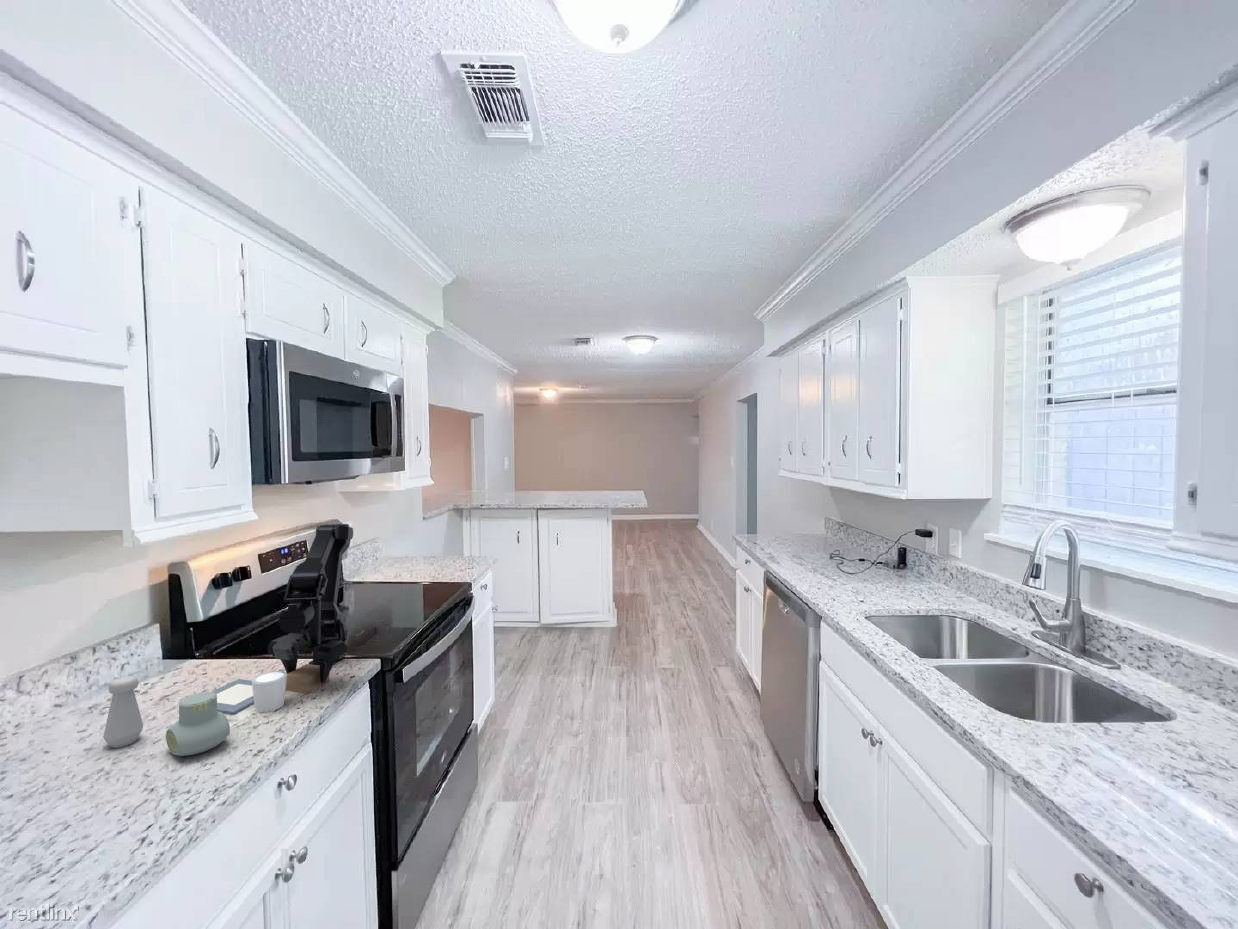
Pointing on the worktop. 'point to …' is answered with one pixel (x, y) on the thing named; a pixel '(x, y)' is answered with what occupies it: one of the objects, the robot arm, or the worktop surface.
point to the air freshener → (197, 725)
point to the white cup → (269, 690)
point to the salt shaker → (123, 713)
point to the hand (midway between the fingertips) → (307, 680)
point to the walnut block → (305, 679)
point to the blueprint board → (234, 696)
